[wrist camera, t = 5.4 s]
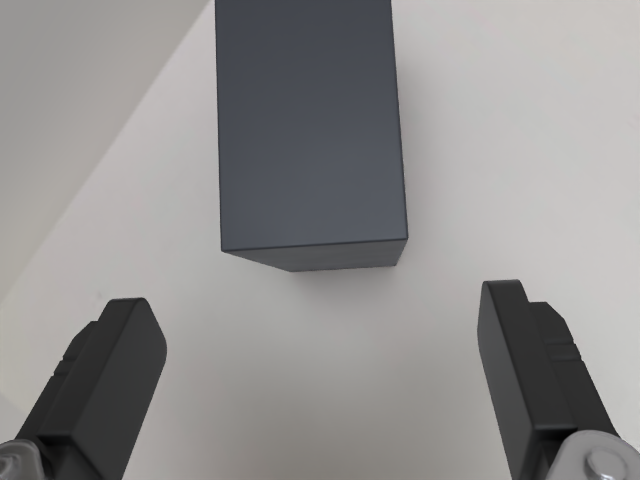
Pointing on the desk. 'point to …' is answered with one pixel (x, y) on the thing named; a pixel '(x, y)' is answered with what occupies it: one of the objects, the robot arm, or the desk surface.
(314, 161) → the block
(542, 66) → the desk surface
